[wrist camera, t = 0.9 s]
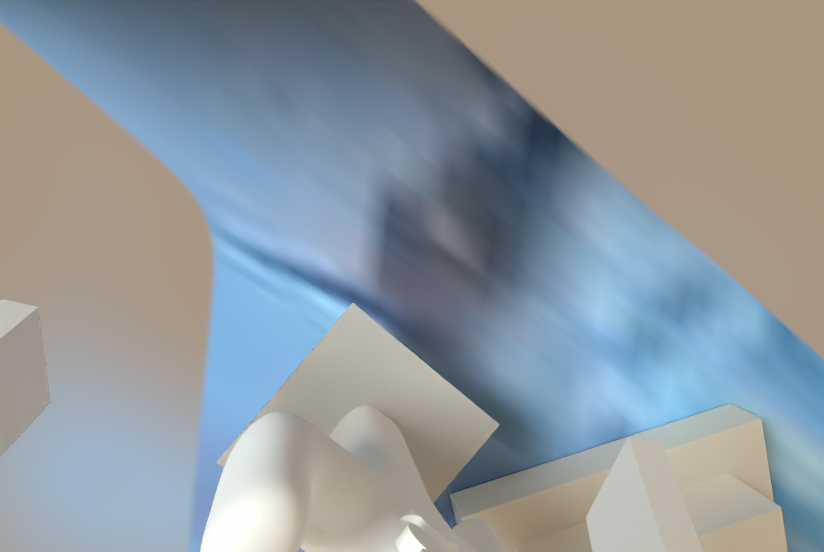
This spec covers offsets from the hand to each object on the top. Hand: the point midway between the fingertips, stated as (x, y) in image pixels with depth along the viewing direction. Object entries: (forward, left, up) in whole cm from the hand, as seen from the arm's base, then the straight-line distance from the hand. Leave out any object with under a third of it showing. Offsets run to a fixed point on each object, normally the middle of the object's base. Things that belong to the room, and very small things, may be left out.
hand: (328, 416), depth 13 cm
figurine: (+4, +1, -11) cm, 12 cm away
